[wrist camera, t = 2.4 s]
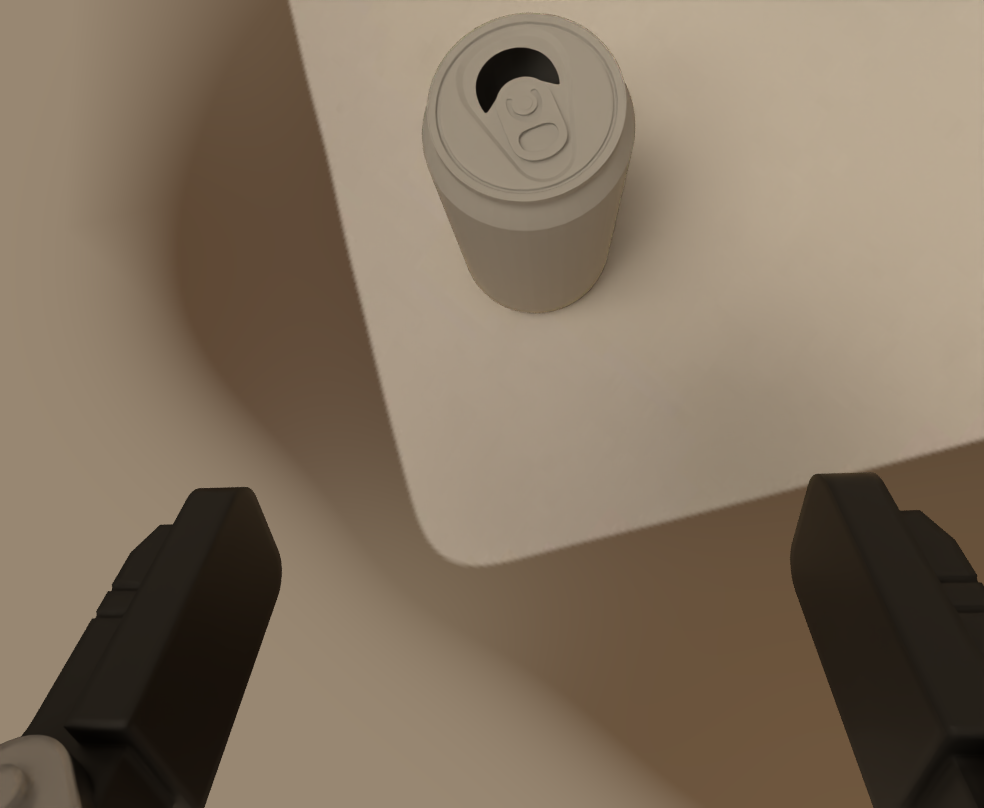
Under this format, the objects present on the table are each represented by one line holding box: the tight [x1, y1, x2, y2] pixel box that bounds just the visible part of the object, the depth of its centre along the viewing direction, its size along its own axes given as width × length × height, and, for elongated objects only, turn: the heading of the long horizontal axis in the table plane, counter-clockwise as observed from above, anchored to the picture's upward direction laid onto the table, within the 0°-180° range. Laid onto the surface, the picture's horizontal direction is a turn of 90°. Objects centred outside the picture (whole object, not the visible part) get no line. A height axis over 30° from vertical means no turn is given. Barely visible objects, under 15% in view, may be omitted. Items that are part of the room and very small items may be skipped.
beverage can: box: [422, 13, 635, 313], centre depth 25 cm, size 6×6×12 cm
